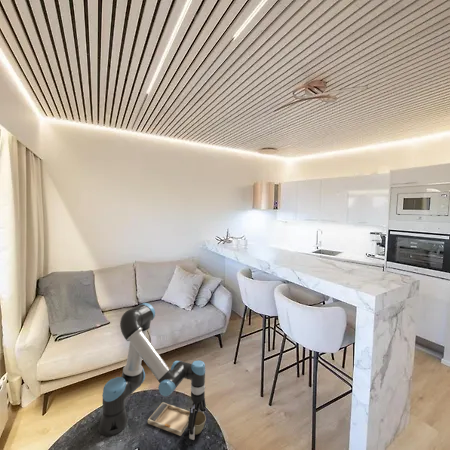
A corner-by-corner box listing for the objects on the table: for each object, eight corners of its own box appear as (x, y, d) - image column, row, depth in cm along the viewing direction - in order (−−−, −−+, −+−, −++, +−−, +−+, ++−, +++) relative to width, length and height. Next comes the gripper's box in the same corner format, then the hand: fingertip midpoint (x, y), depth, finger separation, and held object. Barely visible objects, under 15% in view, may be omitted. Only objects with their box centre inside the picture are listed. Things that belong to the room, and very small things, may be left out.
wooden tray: (147, 423, 139) (147, 418, 138) (162, 405, 152) (162, 401, 152) (180, 436, 131) (180, 431, 131) (193, 416, 145) (193, 411, 145)
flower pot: (202, 440, 129) (202, 427, 129) (184, 436, 131) (185, 423, 131) (207, 425, 139) (207, 412, 139) (190, 421, 141) (191, 409, 141)
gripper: (194, 407, 123) (193, 450, 123) (212, 380, 144) (211, 416, 144) (181, 403, 125) (180, 445, 125) (200, 376, 147) (199, 413, 147)
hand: (196, 430), depth 135 cm, fingers open, 10 cm apart
